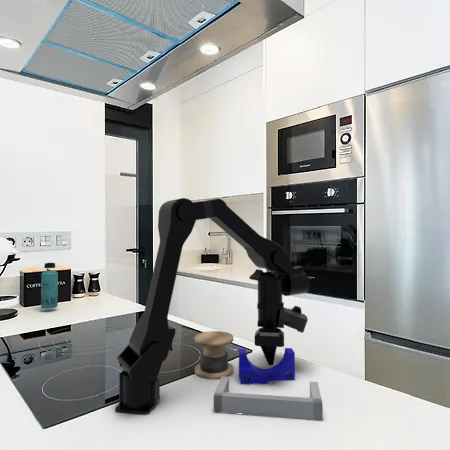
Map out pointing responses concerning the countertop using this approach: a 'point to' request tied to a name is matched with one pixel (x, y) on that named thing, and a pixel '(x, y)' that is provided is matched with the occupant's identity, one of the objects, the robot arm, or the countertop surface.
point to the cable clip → (266, 369)
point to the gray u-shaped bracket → (268, 403)
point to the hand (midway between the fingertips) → (270, 364)
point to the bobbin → (214, 355)
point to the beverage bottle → (49, 288)
